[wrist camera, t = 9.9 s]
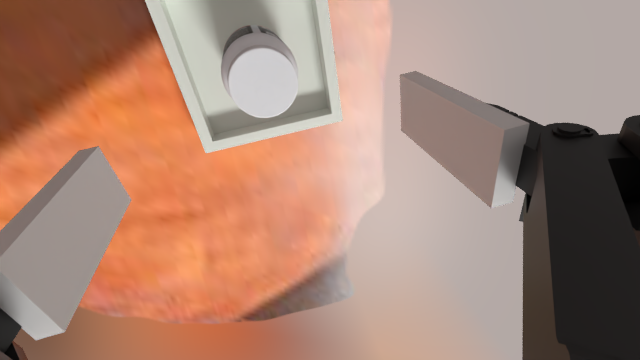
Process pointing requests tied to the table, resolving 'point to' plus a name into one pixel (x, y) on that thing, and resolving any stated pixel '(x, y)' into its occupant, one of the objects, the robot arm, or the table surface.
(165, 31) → the tray
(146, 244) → the table surface
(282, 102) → the pill bottle
